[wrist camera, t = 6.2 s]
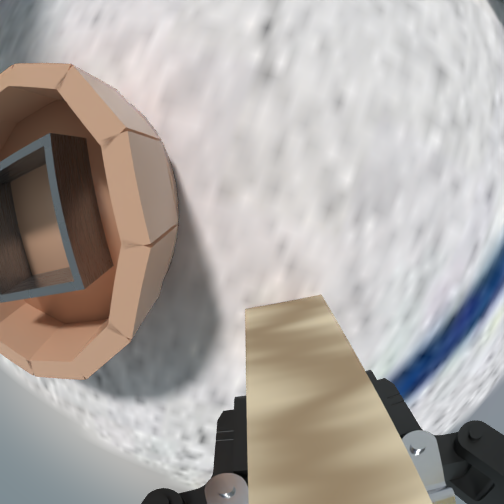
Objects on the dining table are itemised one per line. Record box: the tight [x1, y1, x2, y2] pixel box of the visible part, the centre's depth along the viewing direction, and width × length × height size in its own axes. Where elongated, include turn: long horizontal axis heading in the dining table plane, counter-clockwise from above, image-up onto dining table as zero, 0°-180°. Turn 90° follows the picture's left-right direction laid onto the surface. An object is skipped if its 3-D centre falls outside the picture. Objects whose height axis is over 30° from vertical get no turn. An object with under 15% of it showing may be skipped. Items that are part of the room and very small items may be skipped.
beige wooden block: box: [245, 295, 432, 504], centre depth 8 cm, size 4×4×14 cm
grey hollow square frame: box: [0, 133, 114, 303], centre depth 11 cm, size 6×6×3 cm
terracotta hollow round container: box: [0, 63, 179, 380], centre depth 11 cm, size 14×14×5 cm
